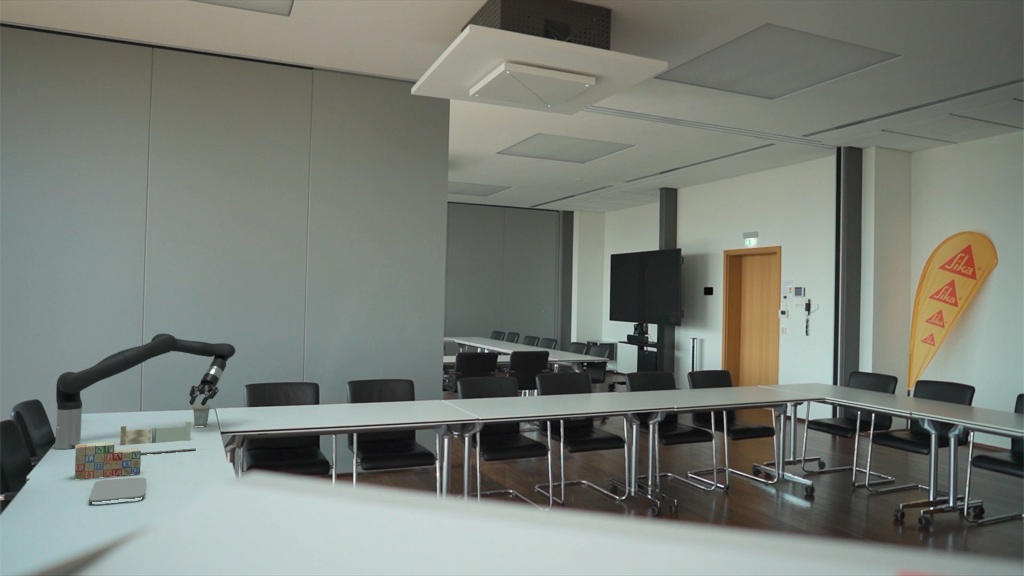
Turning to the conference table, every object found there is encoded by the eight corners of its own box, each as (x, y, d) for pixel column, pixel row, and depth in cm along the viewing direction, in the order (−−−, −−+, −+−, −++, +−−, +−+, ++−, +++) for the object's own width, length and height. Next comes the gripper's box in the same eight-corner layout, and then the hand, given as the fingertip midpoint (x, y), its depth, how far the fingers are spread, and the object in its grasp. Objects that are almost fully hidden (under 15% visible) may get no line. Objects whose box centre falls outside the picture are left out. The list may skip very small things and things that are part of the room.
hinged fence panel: (151, 443, 309) (152, 424, 309) (151, 442, 311) (152, 423, 311) (190, 440, 318) (190, 422, 318) (189, 439, 319) (190, 421, 320)
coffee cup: (188, 426, 355) (189, 404, 356) (201, 424, 363) (202, 402, 363) (200, 428, 352) (201, 405, 352) (213, 426, 360) (214, 403, 360)
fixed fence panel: (120, 446, 303) (121, 426, 303) (120, 445, 304) (120, 426, 305) (150, 443, 309) (151, 425, 309) (150, 442, 311) (151, 424, 311)
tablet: (87, 507, 221) (88, 500, 221) (95, 487, 244) (95, 480, 244) (144, 502, 228) (144, 495, 228) (146, 483, 251) (146, 476, 251)
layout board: (118, 457, 286) (118, 454, 286) (116, 444, 309) (116, 442, 309) (195, 451, 302) (196, 448, 302) (188, 439, 325) (188, 437, 325)
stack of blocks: (140, 471, 266) (141, 439, 266) (140, 475, 260) (141, 443, 261) (75, 476, 256) (77, 443, 256) (74, 480, 251) (75, 446, 251)
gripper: (195, 371, 340) (179, 399, 328) (222, 373, 338) (207, 400, 326) (201, 381, 345) (186, 408, 333) (227, 382, 343) (213, 409, 331)
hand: (196, 404), depth 330 cm, fingers open, 5 cm apart
